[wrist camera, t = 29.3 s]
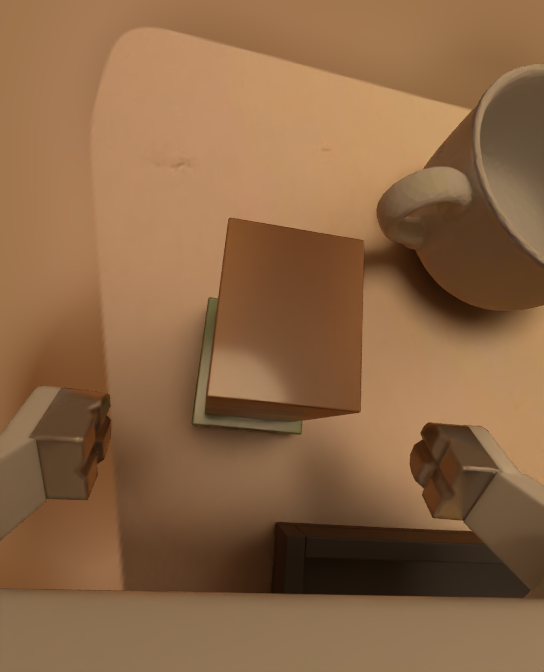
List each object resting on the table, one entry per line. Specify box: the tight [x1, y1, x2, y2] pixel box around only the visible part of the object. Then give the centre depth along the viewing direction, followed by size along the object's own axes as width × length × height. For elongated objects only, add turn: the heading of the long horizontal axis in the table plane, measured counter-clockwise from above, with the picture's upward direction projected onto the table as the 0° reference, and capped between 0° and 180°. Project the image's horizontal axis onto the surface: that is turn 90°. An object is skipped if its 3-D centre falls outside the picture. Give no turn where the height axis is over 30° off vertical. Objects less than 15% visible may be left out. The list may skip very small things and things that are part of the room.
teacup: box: [377, 64, 544, 311], centre depth 20 cm, size 14×11×8 cm
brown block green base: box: [192, 218, 364, 434], centre depth 15 cm, size 5×6×10 cm
